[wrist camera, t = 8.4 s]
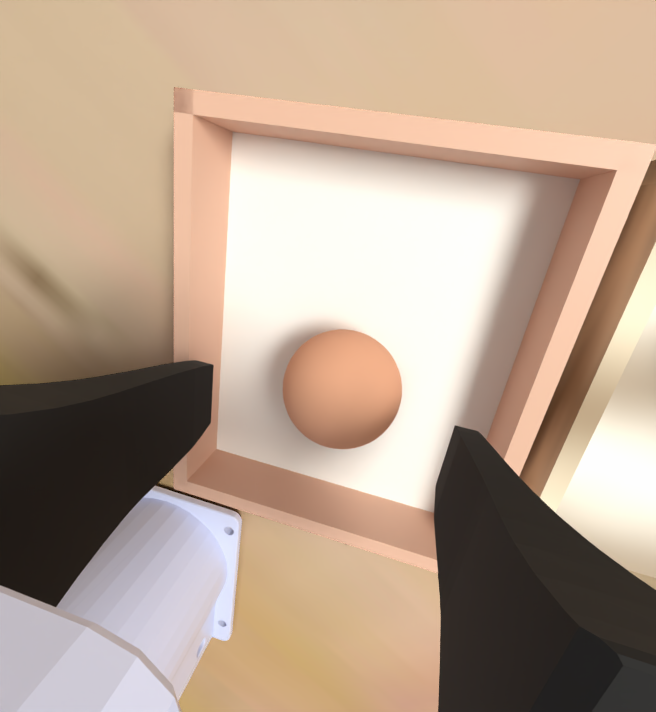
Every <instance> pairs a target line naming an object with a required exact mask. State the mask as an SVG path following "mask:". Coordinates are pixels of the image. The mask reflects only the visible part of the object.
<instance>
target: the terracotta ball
mask: <svg viewBox="0 0 656 712" xmlns="http://www.w3.org/2000/svg"><path fill="white" fill-rule="evenodd" d="M401 398H402V381H401V376H400V372H399V369H398V367H397V364H396V362H395V360H394V359H393V357H392V355H391V354H390V353H389V351H388V350H387V349H386V348H385V347H384V346H383V345H382V344H381V343H379V342H378V341H377V340H375V339H374V338H372V337H370V336H368V335H366V334H364V333H361V332H358V331H354V330H345V329H339V330H331V331H327V332H323V333H321V334H318V335H316V336H314V337H312V338H311V339H309V340H308V341H307V342H305V343H304V344H303V345H301V346H300V348H299V349H298V350H297V351H296V352H295V354H294V355H293V356H292V358H291V359H290V361H289V363H288V365H287V368H286V371H285V374H284V379H283V399H284V404H285V407H286V410H287V413H288V415H289V417H290V419H291V421H292V422H293V424H294V425H295V426H296V427H297V429H298V430H299V431H300V432H301V433H302V434H303V435H304V436H306V437H307V438H308V439H310V440H311V441H313V442H315V443H317V444H319V445H322V446H325V447H328V448H333V449H352V448H357V447H361V446H363V445H366V444H368V443H370V442H372V441H374V440H375V439H377V438H378V437H379V436H381V435H382V434H383V433H384V432H385V431H386V430H387V429H388V428H389V426H390V425H391V424H392V422H393V421H394V419H395V417H396V415H397V413H398V410H399V407H400V403H401Z"/></svg>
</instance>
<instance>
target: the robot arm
mask: <svg viewBox="0 0 656 712" xmlns="http://www.w3.org/2000/svg"><path fill="white" fill-rule="evenodd" d="M213 368H214V365H213V364H209V363H205V362H201V361H197V360H190V361H181V362H175V363H169V364H164V365H159V366H153V367H148V368H143V369H138V370H133V371H128V372H122V373H116V374H111V375H105V376H99V377H93V378H86V379H79V380H71V381H61V382H51V383H40V384H20V385H0V712H182V711H181V708H180V705H179V702H178V701H179V699H180V697H181V695H182V693H183V691H184V689H185V687H186V686H187V684H188V682H189V680H190V678H191V676H192V674H193V672H194V670H195V668H196V666H197V664H198V662H199V661H200V659H201V657H202V655H203V653H204V651H205V649H206V647H207V645H208V643H209V641H210V639H211V637H214V638H217V639H220V640H223V641H226V640H228V639H229V638H230V636H231V634H232V629H233V617H234V606H235V594H236V583H237V572H238V560H239V549H240V538H241V526H242V519H241V517H240V515H239V514H238V513H237V512H235V511H233V510H229V509H226V508H223V507H220V506H217V505H214V504H211V503H208V502H205V501H202V500H198V499H195V498H192V497H189V496H186V495H183V494H180V493H177V492H174V491H170V490H167V489H164V488H161V487H158V486H155V485H156V484H157V483H158V482H159V481H160V480H161V479H162V478H163V477H164V476H165V475H166V474H167V473H168V472H169V471H170V470H171V469H172V468H173V467H174V466H175V465H176V464H177V463H178V462H179V461H180V460H181V459H182V458H183V457H184V456H185V455H186V454H187V453H188V452H189V451H190V450H191V449H192V448H193V447H194V445H195V444H196V443H197V441H198V440H199V439H200V437H201V436H202V435H203V433H204V432H205V430H206V429H207V428H208V426H209V425H210V423H211V411H212V389H213ZM231 528H232V529H231ZM434 528H435V541H436V554H437V566H438V578H439V591H440V608H441V638H440V677H439V707H438V712H656V590H655V589H654V588H652V587H651V586H649V585H648V584H646V583H645V582H643V581H642V580H641V579H639V578H638V577H636V576H635V575H633V574H632V573H631V572H629V571H628V570H627V569H625V568H624V567H623V566H621V565H620V564H618V563H617V562H616V561H614V560H613V559H612V558H610V557H609V556H608V555H606V554H605V553H603V552H602V551H601V550H600V549H598V548H597V547H596V546H594V545H593V544H592V543H591V542H589V541H588V540H587V539H586V538H584V537H583V536H582V535H581V534H580V533H579V532H577V531H576V530H575V529H574V528H573V527H571V526H570V525H569V524H568V523H567V522H566V521H564V520H563V519H562V518H561V517H560V516H559V515H558V514H556V513H555V512H554V511H553V510H552V509H551V508H550V507H549V506H548V505H547V504H546V503H545V502H544V501H543V500H542V499H541V498H540V497H539V496H538V495H537V494H536V493H535V492H533V491H532V490H531V489H530V488H529V486H528V485H527V484H526V483H525V482H524V481H523V480H522V479H521V478H520V477H519V476H518V475H517V474H516V473H515V472H514V471H513V469H512V468H511V467H510V466H509V465H508V464H507V463H506V462H505V460H504V459H503V458H502V457H501V456H500V455H499V454H498V452H497V451H496V450H495V449H494V448H493V447H492V446H491V444H490V443H489V442H488V441H487V440H486V439H485V438H484V437H483V435H482V434H481V433H479V432H478V431H476V430H472V429H468V428H464V427H460V426H456V425H455V426H454V430H453V433H452V436H451V439H450V442H449V445H448V448H447V452H446V455H445V458H444V461H443V464H442V467H441V470H440V474H439V477H438V480H437V483H436V488H435V504H434Z"/></svg>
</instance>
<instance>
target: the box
mask: <svg viewBox="0 0 656 712" xmlns="http://www.w3.org/2000/svg"><path fill="white" fill-rule="evenodd" d="M519 477H520V478H521V479H522V480H523V481H524V482H525V483H526V484H527V485H528V486H529V488H530V489H531V490H532V491H533V492H535V493H536V494H537V495H538V496H539V497H540V498H541V499H542V500H543V501H544V502H545V503H546V504H547V505H548V506H549V507H550V508H551V509H552V510H553V511H554V512H555V513H556V514H558V515H559V516H560V517H561V518H562V519H563V520H564V521H566V522H567V523H568V524H569V525H570V526H571V527H573V528H574V529H575V530H576V531H577V532H579V533H580V534H581V535H582V536H583V537H584V538H586V539H587V540H588V541H589V542H591V543H592V544H593V545H594V546H596V547H597V548H598V549H600V550H601V551H602V552H603V553H605V554H606V555H608V556H609V557H610V558H612V559H613V560H614V561H616V562H617V563H618V564H620V565H621V566H623V567H624V568H625V569H627V570H628V571H629V572H631V573H632V574H633V575H635V576H636V577H638V578H639V579H641V580H642V581H643V582H645V583H646V584H648V585H649V586H651V587H652V588H654V589H655V590H656V160H654V161H651V162H650V164H649V167H648V169H647V171H646V174H645V176H644V179H643V181H642V183H641V186H640V188H639V191H638V193H637V195H636V198H635V200H634V203H633V205H632V207H631V210H630V212H629V215H628V217H627V219H626V222H625V224H624V227H623V229H622V231H621V234H620V236H619V239H618V241H617V243H616V246H615V248H614V250H613V253H612V255H611V258H610V260H609V262H608V265H607V267H606V270H605V272H604V274H603V277H602V279H601V282H600V284H599V286H598V289H597V291H596V294H595V296H594V298H593V301H592V303H591V306H590V308H589V310H588V313H587V315H586V318H585V320H584V322H583V325H582V327H581V330H580V332H579V334H578V337H577V339H576V342H575V344H574V346H573V349H572V351H571V354H570V356H569V358H568V361H567V363H566V366H565V368H564V370H563V373H562V375H561V378H560V380H559V382H558V385H557V387H556V390H555V392H554V394H553V397H552V399H551V402H550V404H549V406H548V409H547V411H546V414H545V416H544V418H543V421H542V423H541V426H540V428H539V430H538V433H537V435H536V437H535V440H534V442H533V445H532V447H531V449H530V452H529V454H528V457H527V459H526V461H525V464H524V466H523V469H522V471H521V473H520V476H519Z"/></svg>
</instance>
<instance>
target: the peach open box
mask: <svg viewBox="0 0 656 712" xmlns="http://www.w3.org/2000/svg"><path fill="white" fill-rule="evenodd" d="M655 150H656V144H648V143H640V142H631V141H623V140H615V139H606V138H598V137H589V136H581V135H572V134H564V133H556V132H547V131H539V130H530V129H522V128H513V127H505V126H497V125H488V124H480V123H471V122H463V121H454V120H446V119H438V118H429V117H421V116H412V115H404V114H395V113H387V112H379V111H370V110H362V109H353V108H345V107H336V106H328V105H320V104H311V103H303V102H294V101H286V100H277V99H269V98H261V97H252V96H244V95H235V94H227V93H218V92H210V91H202V90H193V89H185V88H176V87H174V363H175V362H181V361H190V360H197V361H201V362H205V363H209V364H213V365H214V368H213V389H212V411H211V423H210V425H209V426H208V428H207V429H206V430H205V432H204V433H203V435H202V436H201V437H200V439H199V440H198V441H197V443H196V444H195V445H194V447H193V448H192V449H191V450H190V451H189V452H188V453H187V454H186V455H185V456H184V457H183V458H182V459H181V460H180V461H179V462H178V463H177V464H176V465H175V466H174V489H176V490H179V491H182V492H185V493H189V494H192V495H195V496H198V497H201V498H204V499H207V500H210V501H214V502H217V503H220V504H223V505H226V506H229V507H232V508H235V509H238V510H242V511H245V512H248V513H251V514H254V515H257V516H260V517H263V518H267V519H270V520H273V521H276V522H279V523H282V524H285V525H288V526H292V527H295V528H298V529H301V530H304V531H307V532H310V533H313V534H316V535H320V536H323V537H326V538H329V539H332V540H335V541H338V542H341V543H345V544H348V545H351V546H354V547H357V548H360V549H363V550H366V551H369V552H373V553H376V554H379V555H382V556H385V557H388V558H391V559H394V560H398V561H401V562H404V563H407V564H410V565H413V566H416V567H419V568H423V569H426V570H429V571H432V572H435V573H438V566H437V554H436V541H435V528H434V504H435V488H436V483H437V480H438V477H439V474H440V470H441V467H442V464H443V461H444V458H445V455H446V452H447V448H448V445H449V442H450V439H451V436H452V433H453V430H454V426H455V425H456V426H460V427H464V428H468V429H472V430H476V431H478V432H479V433H481V434H482V435H483V437H484V438H485V439H486V440H487V441H488V442H489V443H490V444H491V446H492V447H493V448H494V449H495V450H496V451H497V452H498V454H499V455H500V456H501V457H502V458H503V459H504V460H505V462H506V463H507V464H508V465H509V466H510V467H511V468H512V469H513V471H514V472H515V473H516V474H517V475H518V476H520V473H521V471H522V469H523V466H524V464H525V461H526V459H527V457H528V454H529V452H530V449H531V447H532V445H533V442H534V440H535V437H536V435H537V433H538V430H539V428H540V426H541V423H542V421H543V418H544V416H545V414H546V411H547V409H548V406H549V404H550V402H551V399H552V397H553V394H554V392H555V390H556V387H557V385H558V382H559V380H560V378H561V375H562V373H563V370H564V368H565V366H566V363H567V361H568V358H569V356H570V354H571V351H572V349H573V346H574V344H575V342H576V339H577V337H578V334H579V332H580V330H581V327H582V325H583V322H584V320H585V318H586V315H587V313H588V310H589V308H590V306H591V303H592V301H593V298H594V296H595V294H596V291H597V289H598V286H599V284H600V282H601V279H602V277H603V274H604V272H605V270H606V267H607V265H608V262H609V260H610V258H611V255H612V253H613V250H614V248H615V246H616V243H617V241H618V239H619V236H620V234H621V231H622V229H623V227H624V224H625V222H626V219H627V217H628V215H629V212H630V210H631V207H632V205H633V203H634V200H635V198H636V195H637V193H638V191H639V188H640V186H641V183H642V181H643V179H644V176H645V174H646V171H647V169H648V167H649V164H650V162H651V159H652V157H653V155H654V152H655ZM339 329H345V330H354V331H358V332H361V333H364V334H366V335H368V336H370V337H372V338H374V339H375V340H377V341H378V342H379V343H381V344H382V345H383V346H384V347H385V348H386V349H387V350H388V351H389V353H390V354H391V355H392V357H393V359H394V360H395V362H396V364H397V367H398V369H399V372H400V376H401V381H402V398H401V403H400V407H399V410H398V413H397V415H396V417H395V419H394V421H393V422H392V424H391V425H390V426H389V428H388V429H387V430H386V431H385V432H384V433H383V434H382V435H381V436H379V437H378V438H377V439H375V440H374V441H372V442H370V443H368V444H366V445H363V446H361V447H357V448H352V449H333V448H328V447H325V446H322V445H319V444H317V443H315V442H313V441H311V440H310V439H308V438H307V437H306V436H304V435H303V434H302V433H301V432H300V431H299V430H298V429H297V427H296V426H295V425H294V424H293V422H292V421H291V419H290V417H289V415H288V413H287V410H286V407H285V404H284V399H283V379H284V374H285V371H286V368H287V365H288V363H289V361H290V359H291V358H292V356H293V355H294V354H295V352H296V351H297V350H298V349H299V348H300V346H301V345H303V344H304V343H305V342H307V341H308V340H309V339H311V338H312V337H314V336H316V335H318V334H321V333H323V332H327V331H331V330H339Z"/></svg>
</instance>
